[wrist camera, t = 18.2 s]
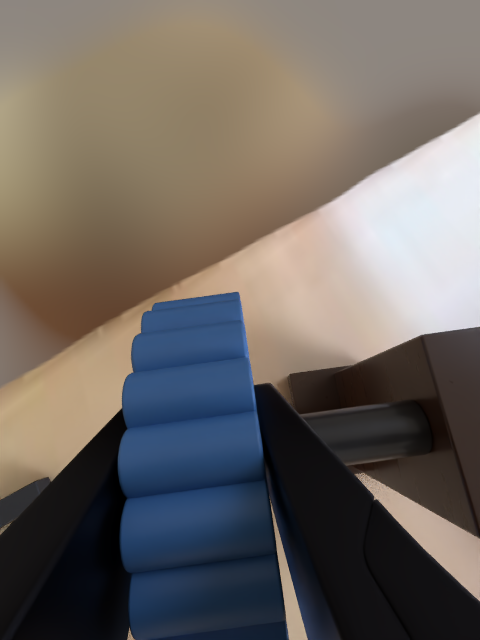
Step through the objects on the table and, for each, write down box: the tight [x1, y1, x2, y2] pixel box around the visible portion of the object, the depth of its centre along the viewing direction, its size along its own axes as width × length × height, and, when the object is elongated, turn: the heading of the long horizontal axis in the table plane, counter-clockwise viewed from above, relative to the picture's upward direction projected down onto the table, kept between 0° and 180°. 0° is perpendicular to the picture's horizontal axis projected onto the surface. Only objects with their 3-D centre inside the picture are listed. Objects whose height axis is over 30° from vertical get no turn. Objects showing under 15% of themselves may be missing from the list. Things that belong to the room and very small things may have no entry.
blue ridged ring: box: [118, 292, 289, 640], centre depth 10 cm, size 9×2×9 cm, turn 8°
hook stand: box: [288, 327, 480, 538], centre depth 13 cm, size 12×6×11 cm, turn 98°
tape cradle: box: [0, 477, 51, 528], centre depth 16 cm, size 9×5×1 cm, turn 28°
